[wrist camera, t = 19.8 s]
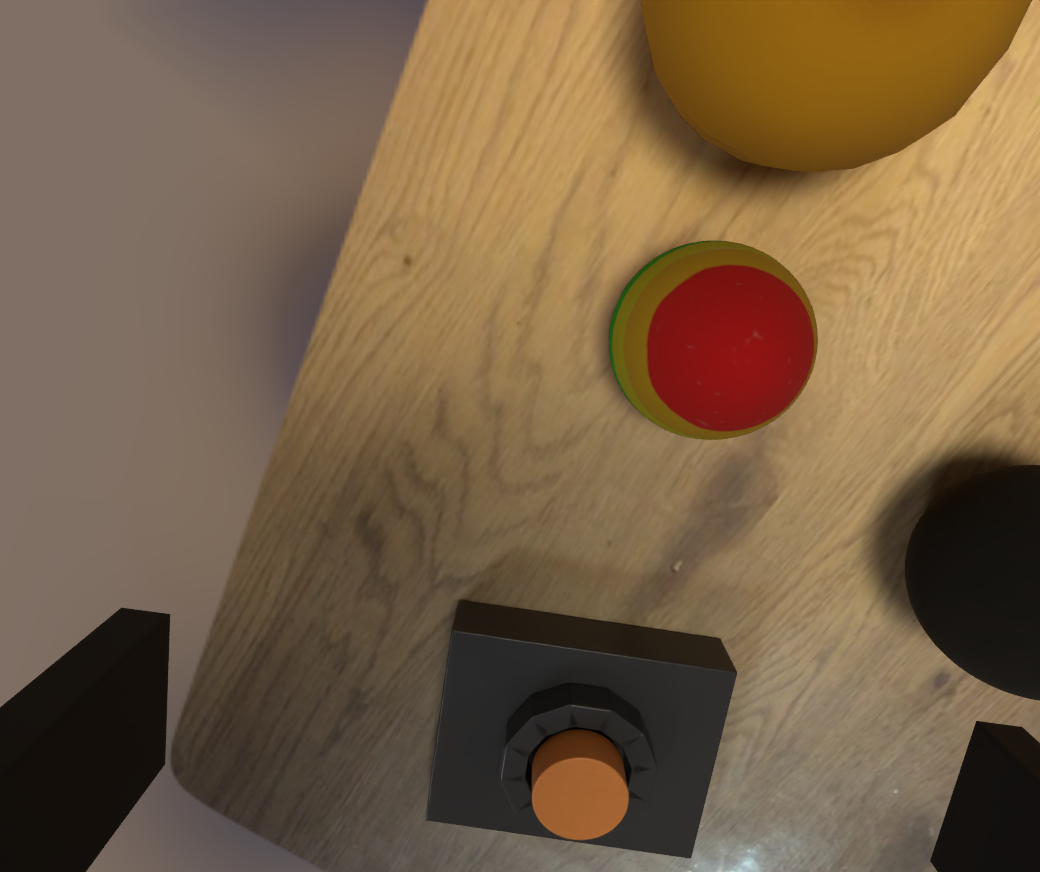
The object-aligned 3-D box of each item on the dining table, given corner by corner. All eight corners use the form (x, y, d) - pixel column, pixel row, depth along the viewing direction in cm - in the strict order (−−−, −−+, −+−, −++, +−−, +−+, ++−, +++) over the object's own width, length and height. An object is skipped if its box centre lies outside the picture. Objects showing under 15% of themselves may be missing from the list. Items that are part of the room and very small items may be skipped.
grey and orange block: (433, 777, 39) (419, 848, 34) (458, 599, 37) (446, 649, 32) (679, 812, 39) (699, 889, 34) (720, 638, 37) (748, 694, 32)
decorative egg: (803, 282, 32) (917, 286, 23) (729, 440, 34) (806, 507, 25) (641, 218, 32) (688, 194, 22) (575, 382, 34) (591, 426, 24)
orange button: (525, 800, 34) (524, 833, 32) (539, 722, 33) (539, 751, 31) (614, 813, 34) (619, 847, 32) (631, 735, 33) (637, 765, 31)
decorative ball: (832, 506, 35) (946, 596, 25) (1021, 403, 34) (1218, 456, 24) (917, 660, 37) (1055, 799, 27) (1099, 567, 35) (1314, 679, 26)
